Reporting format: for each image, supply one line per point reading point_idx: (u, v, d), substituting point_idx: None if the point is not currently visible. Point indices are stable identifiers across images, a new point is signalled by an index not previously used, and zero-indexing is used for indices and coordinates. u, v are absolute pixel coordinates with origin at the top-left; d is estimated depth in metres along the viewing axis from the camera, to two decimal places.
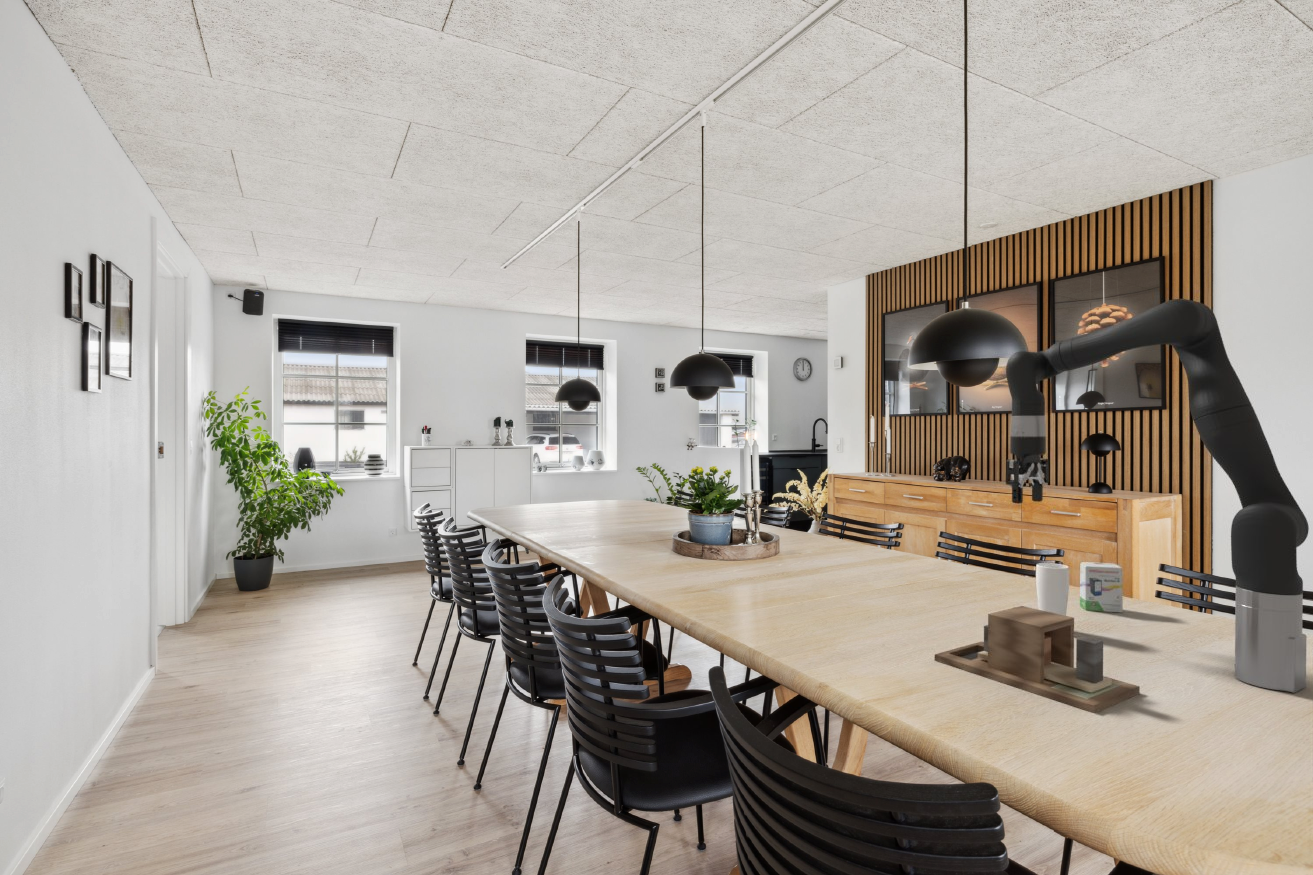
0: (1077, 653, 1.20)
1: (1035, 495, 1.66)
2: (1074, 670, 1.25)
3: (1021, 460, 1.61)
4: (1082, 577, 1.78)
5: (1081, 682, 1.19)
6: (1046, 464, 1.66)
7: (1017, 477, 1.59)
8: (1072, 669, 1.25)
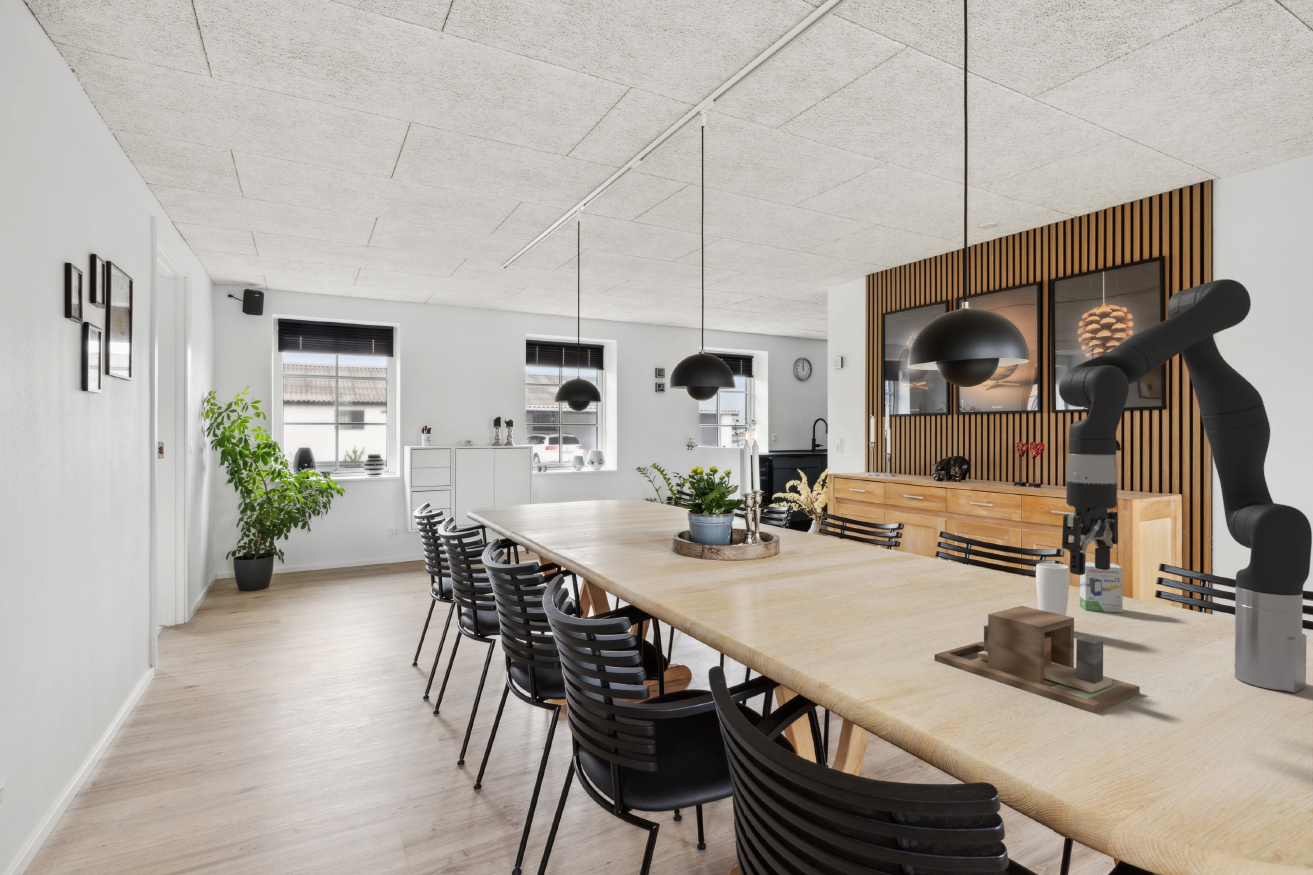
0: (1077, 653, 1.20)
1: (1100, 561, 1.22)
2: (1074, 670, 1.25)
3: (1083, 515, 1.17)
4: (1082, 577, 1.78)
5: (1081, 682, 1.19)
6: (1115, 519, 1.22)
7: (1079, 540, 1.16)
8: (1072, 669, 1.25)
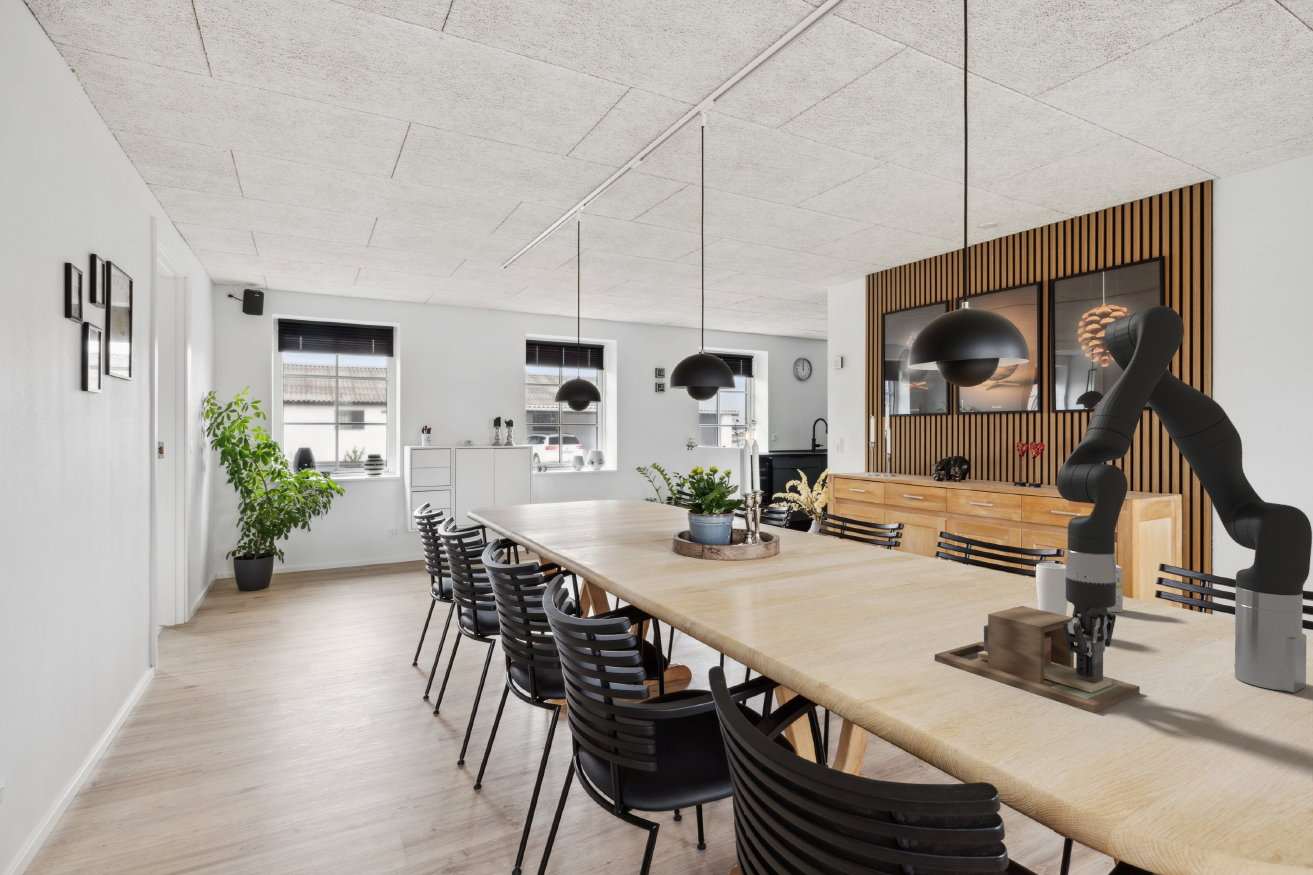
0: None
1: None
2: (1074, 670, 1.25)
3: (1082, 617, 1.17)
4: None
5: (1081, 682, 1.19)
6: (1112, 621, 1.22)
7: (1084, 644, 1.17)
8: (1072, 669, 1.25)
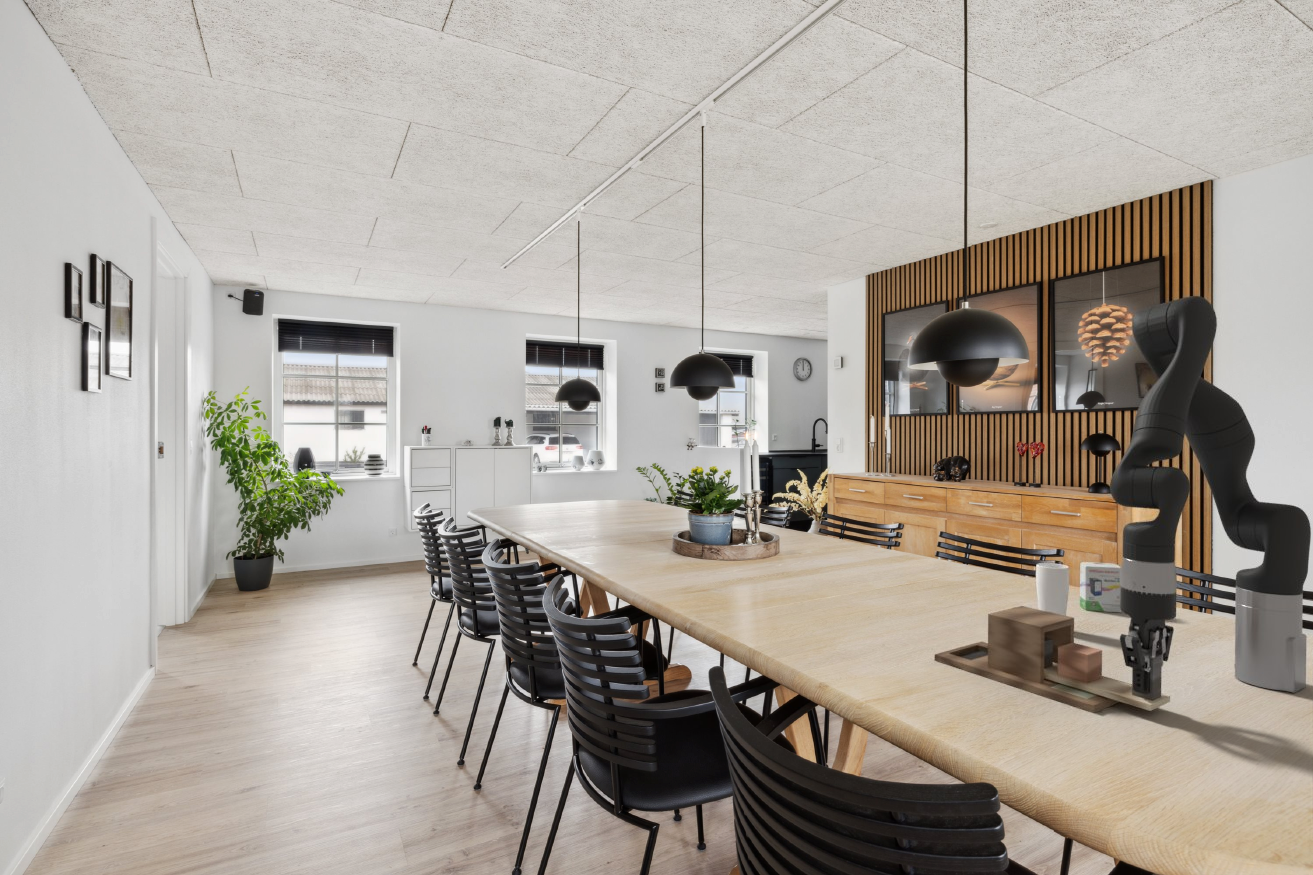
0: None
1: None
2: (1128, 685, 1.17)
3: (1140, 630, 1.10)
4: (1082, 577, 1.78)
5: (1138, 699, 1.11)
6: (1170, 634, 1.14)
7: (1142, 659, 1.09)
8: (1126, 684, 1.18)
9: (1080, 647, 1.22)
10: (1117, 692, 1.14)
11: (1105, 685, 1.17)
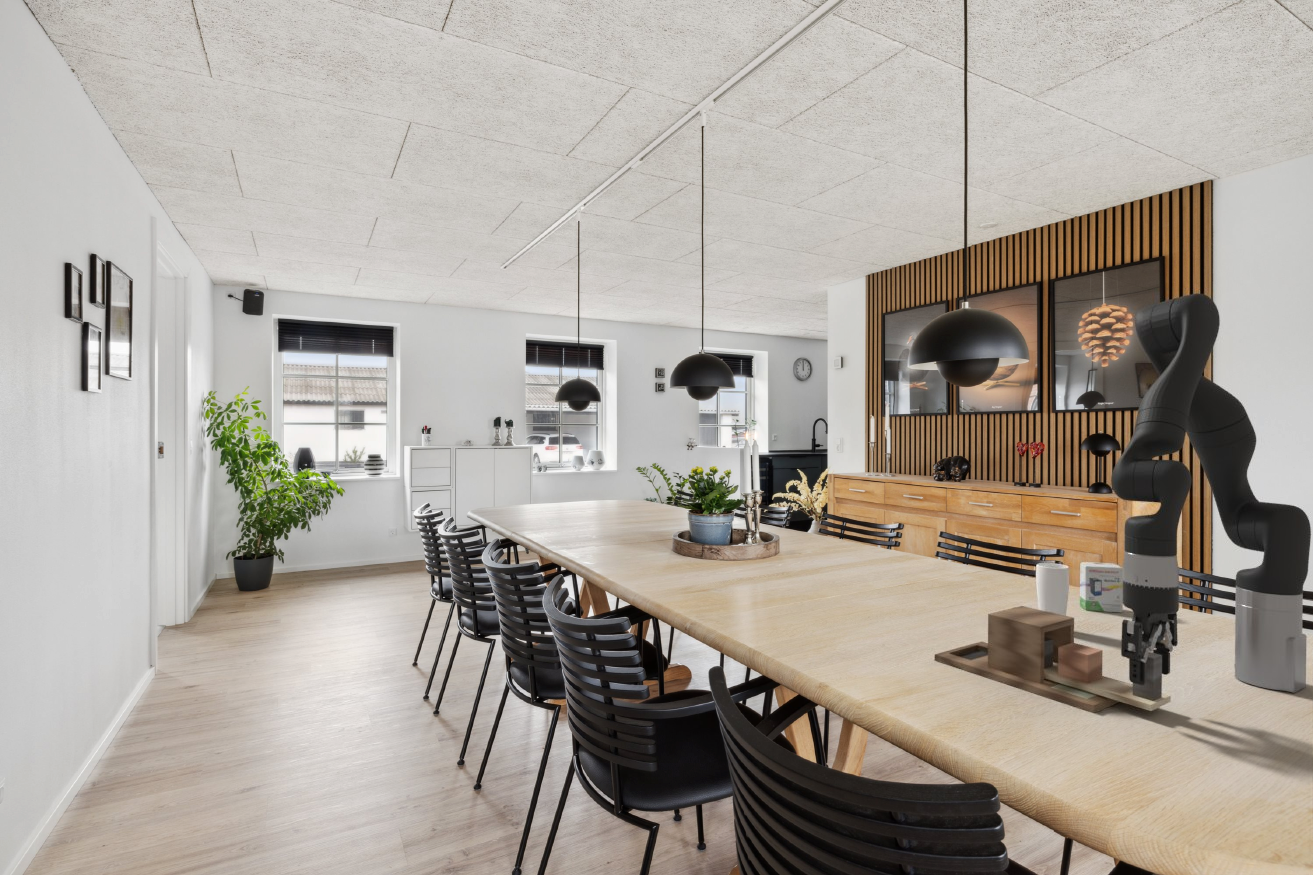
0: None
1: None
2: (1129, 685, 1.17)
3: (1144, 621, 1.09)
4: (1082, 577, 1.78)
5: (1139, 699, 1.11)
6: (1174, 619, 1.14)
7: (1140, 649, 1.08)
8: (1126, 685, 1.18)
9: (1081, 647, 1.22)
10: (1117, 692, 1.14)
11: (1105, 685, 1.17)
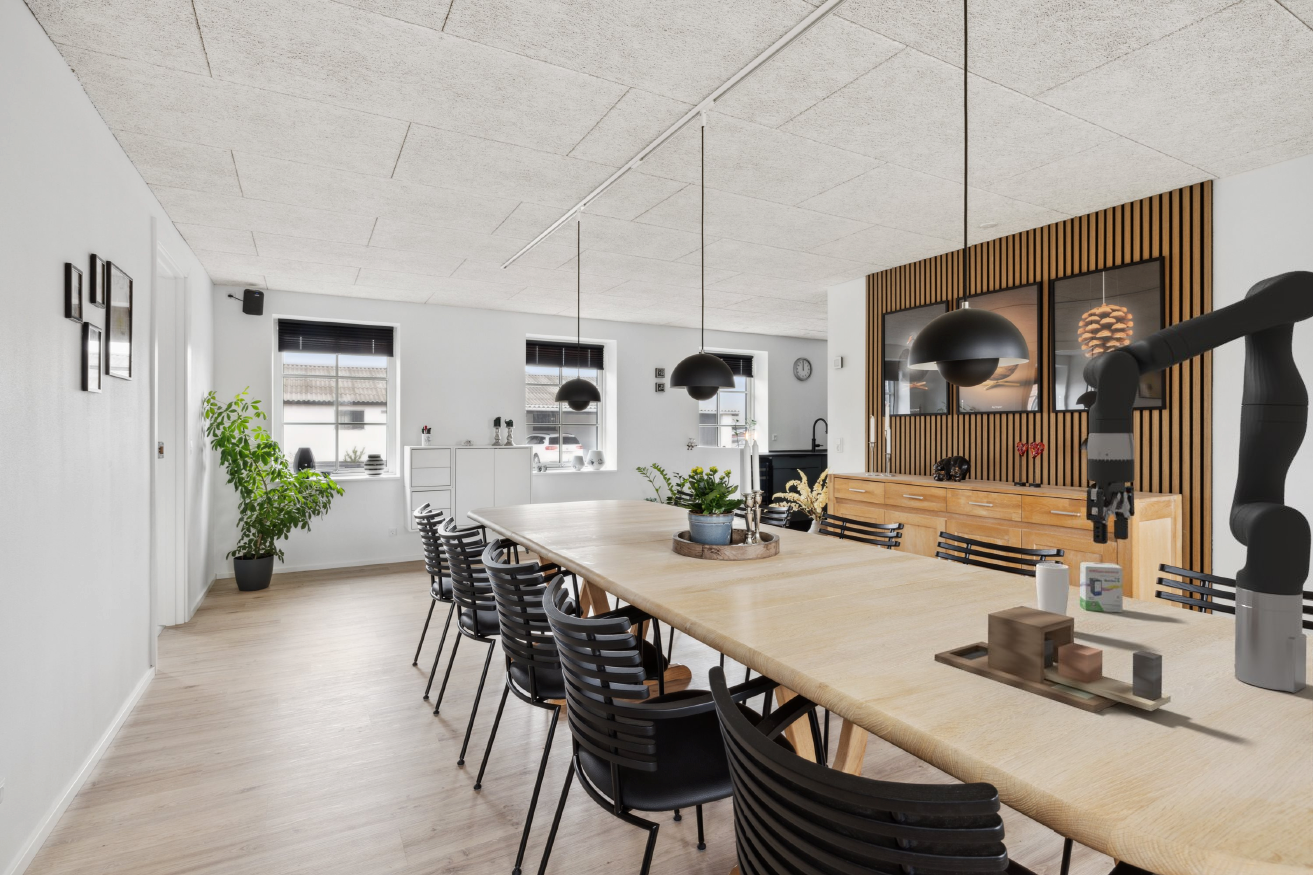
0: (1133, 669, 1.13)
1: (1118, 531, 1.33)
2: (1129, 685, 1.17)
3: (1105, 489, 1.28)
4: (1082, 577, 1.78)
5: (1139, 699, 1.11)
6: (1131, 493, 1.33)
7: (1102, 511, 1.26)
8: (1126, 685, 1.18)
9: (1081, 647, 1.22)
10: (1117, 692, 1.14)
11: (1105, 685, 1.17)
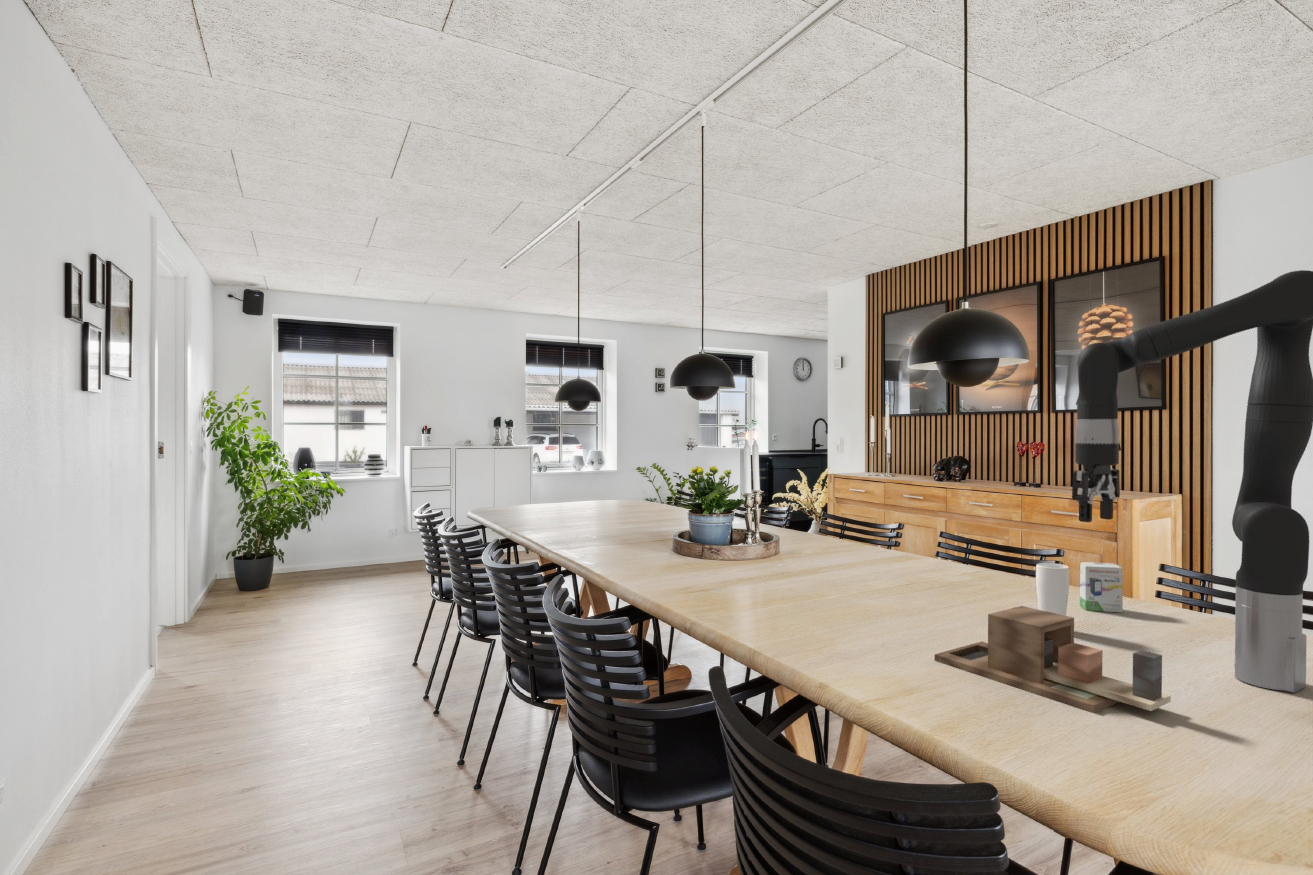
0: (1133, 669, 1.13)
1: (1104, 512, 1.42)
2: (1129, 685, 1.17)
3: (1090, 471, 1.37)
4: (1082, 577, 1.78)
5: (1139, 699, 1.11)
6: (1117, 476, 1.42)
7: (1086, 491, 1.35)
8: (1126, 685, 1.18)
9: (1081, 647, 1.22)
10: (1117, 692, 1.14)
11: (1105, 685, 1.17)
